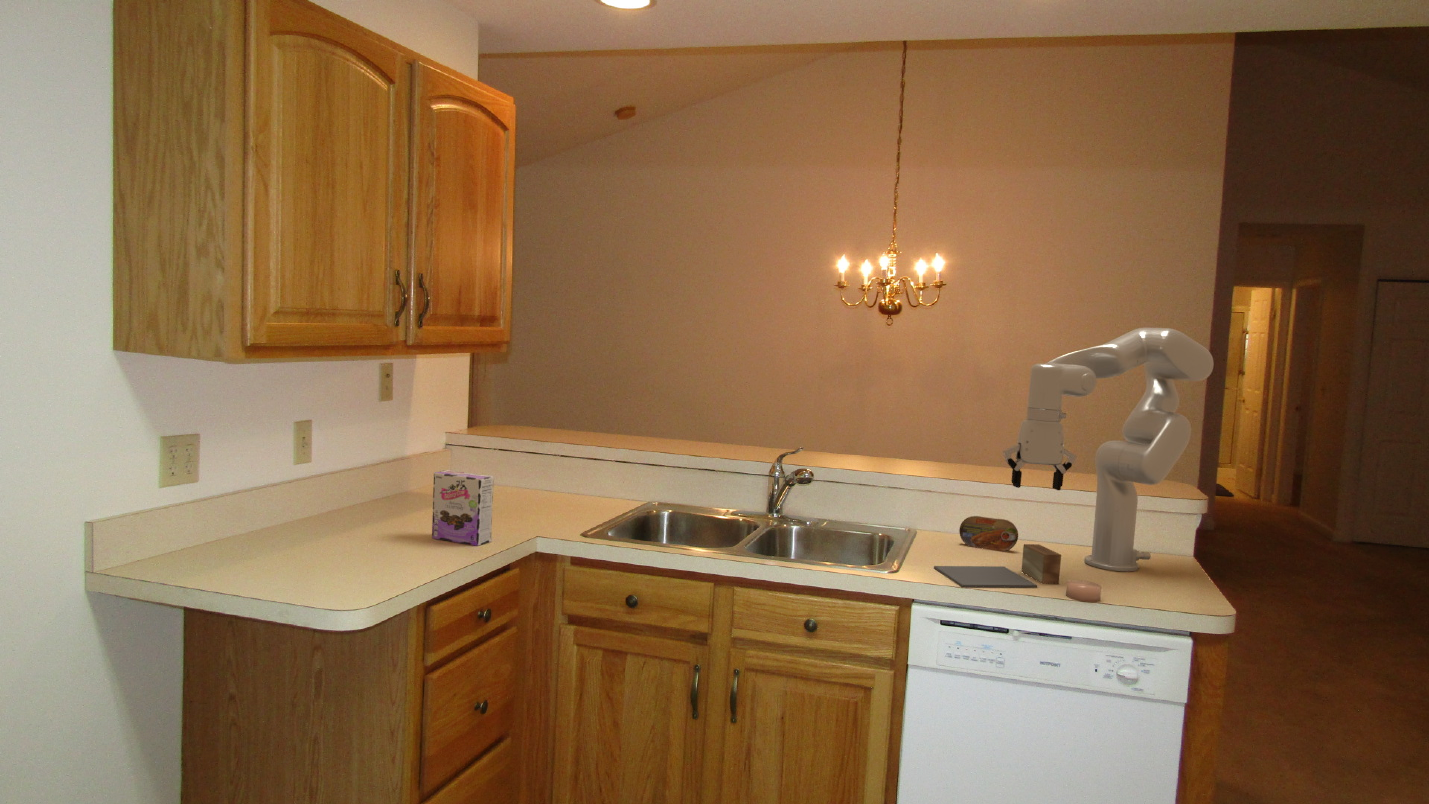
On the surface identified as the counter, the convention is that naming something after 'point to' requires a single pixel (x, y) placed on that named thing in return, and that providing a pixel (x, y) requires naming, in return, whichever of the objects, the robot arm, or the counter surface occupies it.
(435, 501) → the candy box
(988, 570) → the mat
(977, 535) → the tin
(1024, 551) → the slab
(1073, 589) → the pink round puck
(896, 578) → the counter surface
